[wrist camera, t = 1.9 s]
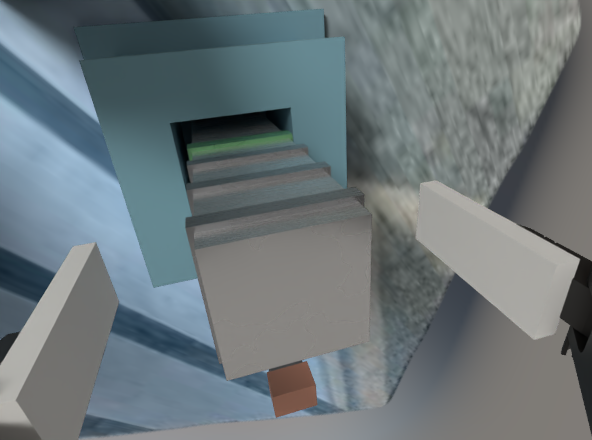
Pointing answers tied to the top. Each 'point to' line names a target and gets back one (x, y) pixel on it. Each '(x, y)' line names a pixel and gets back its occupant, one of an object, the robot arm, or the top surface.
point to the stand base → (207, 104)
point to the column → (274, 246)
